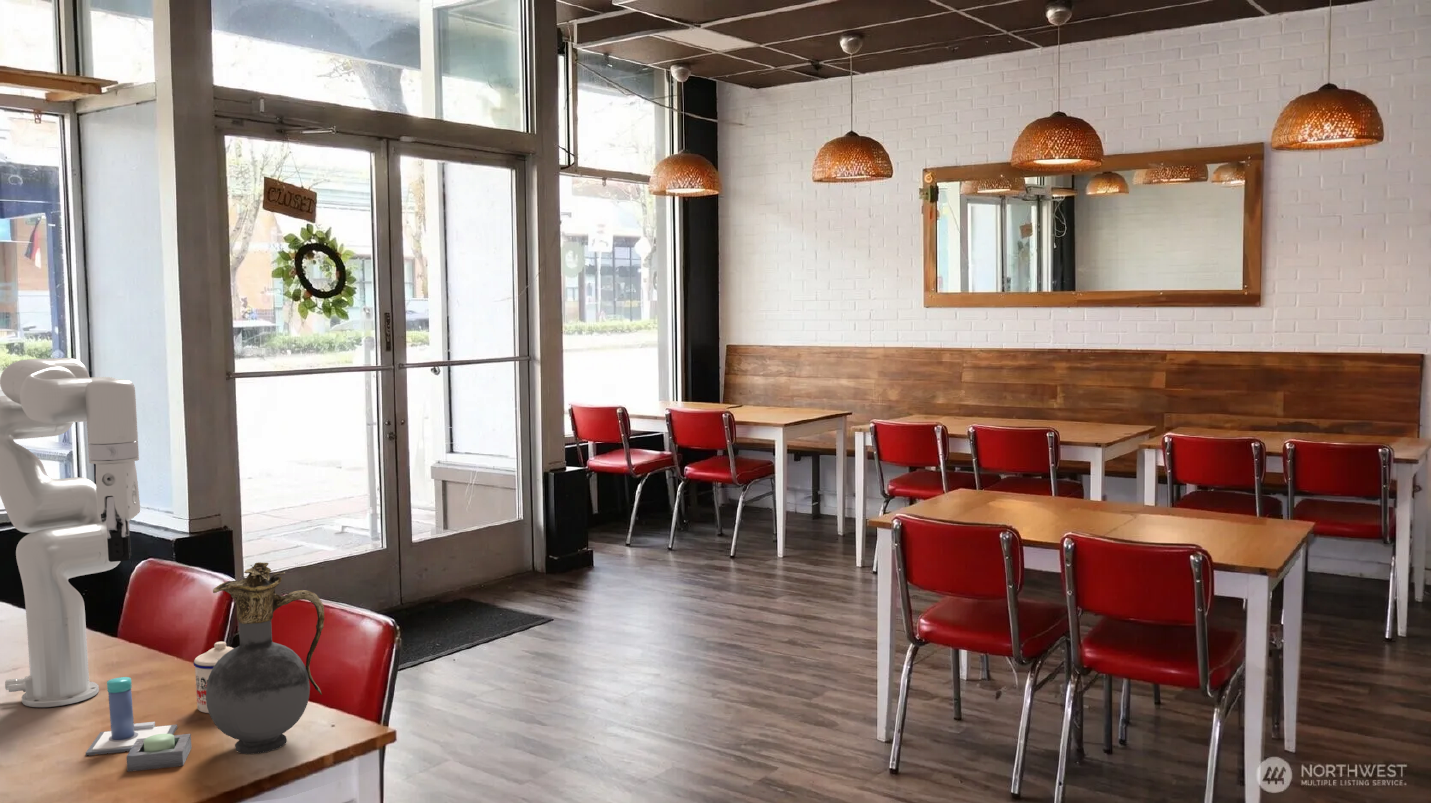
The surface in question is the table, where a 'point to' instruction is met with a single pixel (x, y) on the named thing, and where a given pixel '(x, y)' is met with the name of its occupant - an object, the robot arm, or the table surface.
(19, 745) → the table surface
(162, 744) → the button
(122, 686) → the cylinder
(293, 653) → the pitcher
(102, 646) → the table surface
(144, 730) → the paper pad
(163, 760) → the button base
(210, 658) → the teacup with lid
